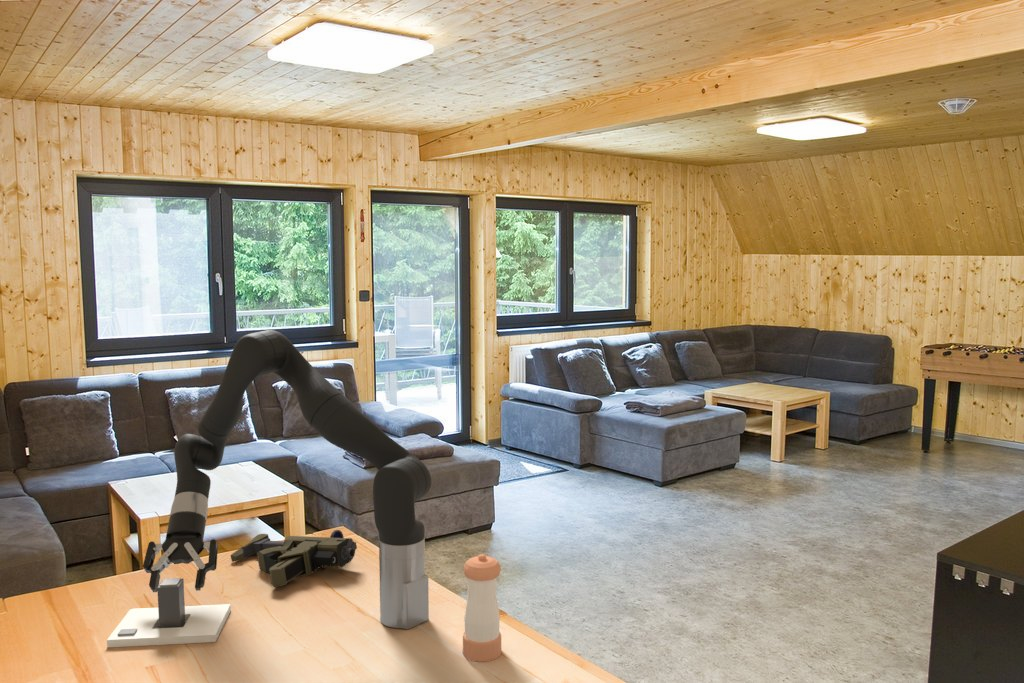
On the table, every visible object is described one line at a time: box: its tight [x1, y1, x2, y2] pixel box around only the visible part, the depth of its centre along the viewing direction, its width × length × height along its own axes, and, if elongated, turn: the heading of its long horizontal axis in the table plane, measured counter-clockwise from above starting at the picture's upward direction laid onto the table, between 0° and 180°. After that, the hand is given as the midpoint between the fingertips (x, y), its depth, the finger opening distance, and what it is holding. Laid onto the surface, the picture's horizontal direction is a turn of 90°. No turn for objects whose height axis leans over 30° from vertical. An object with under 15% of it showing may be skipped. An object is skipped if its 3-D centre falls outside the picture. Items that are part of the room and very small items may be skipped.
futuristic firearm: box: [230, 529, 358, 588], centre depth 200 cm, size 7×31×25 cm
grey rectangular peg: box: [157, 577, 186, 628], centre depth 168 cm, size 4×4×10 cm
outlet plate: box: [106, 603, 232, 648], centre depth 169 cm, size 20×14×2 cm
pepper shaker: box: [462, 553, 502, 663], centre depth 158 cm, size 7×7×19 cm
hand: (176, 590), depth 172 cm, fingers open, 8 cm apart
